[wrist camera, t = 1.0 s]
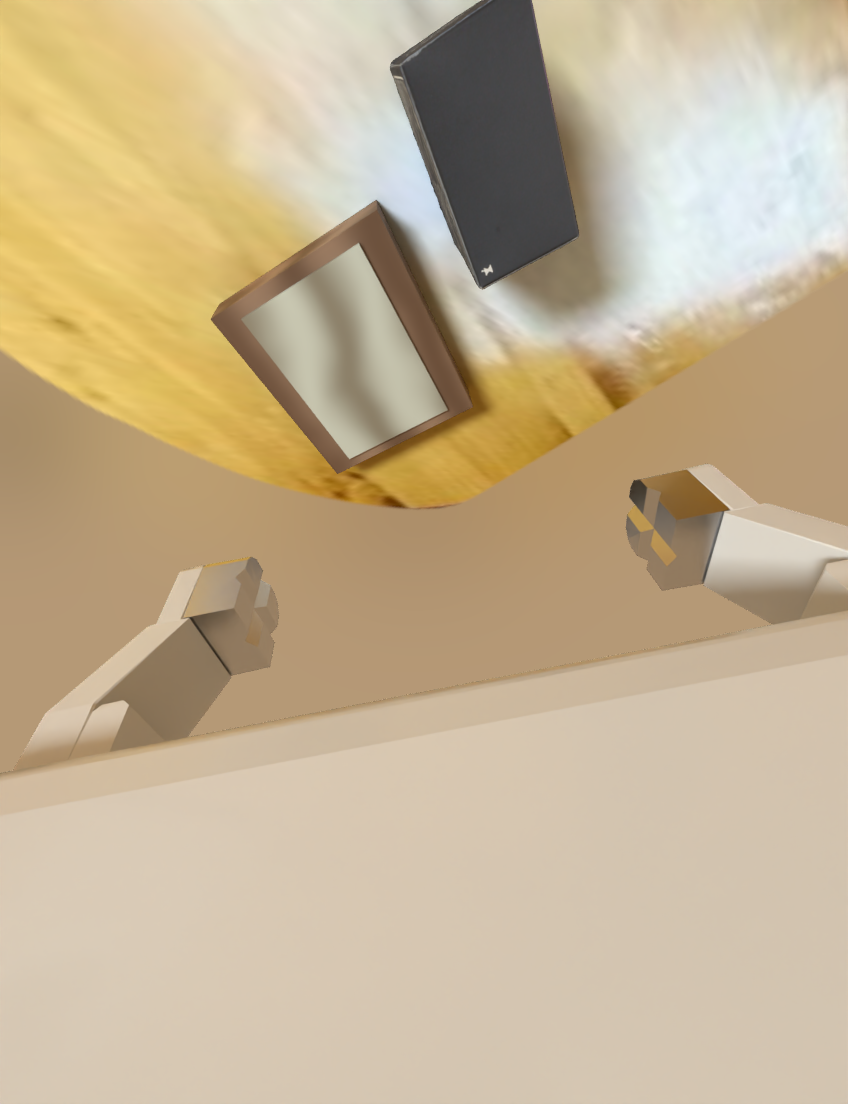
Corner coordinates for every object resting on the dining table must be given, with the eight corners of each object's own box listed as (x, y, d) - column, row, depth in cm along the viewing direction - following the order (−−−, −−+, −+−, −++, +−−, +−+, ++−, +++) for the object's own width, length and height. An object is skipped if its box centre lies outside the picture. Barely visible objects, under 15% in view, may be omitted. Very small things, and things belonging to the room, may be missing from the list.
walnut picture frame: (376, 199, 33) (377, 210, 31) (468, 390, 44) (473, 408, 41) (219, 304, 37) (209, 320, 35) (338, 455, 48) (337, 475, 45)
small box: (539, 200, 34) (587, 239, 27) (454, 247, 36) (477, 297, 28) (488, -9, 27) (534, -32, 19) (385, 63, 28) (392, 67, 21)
